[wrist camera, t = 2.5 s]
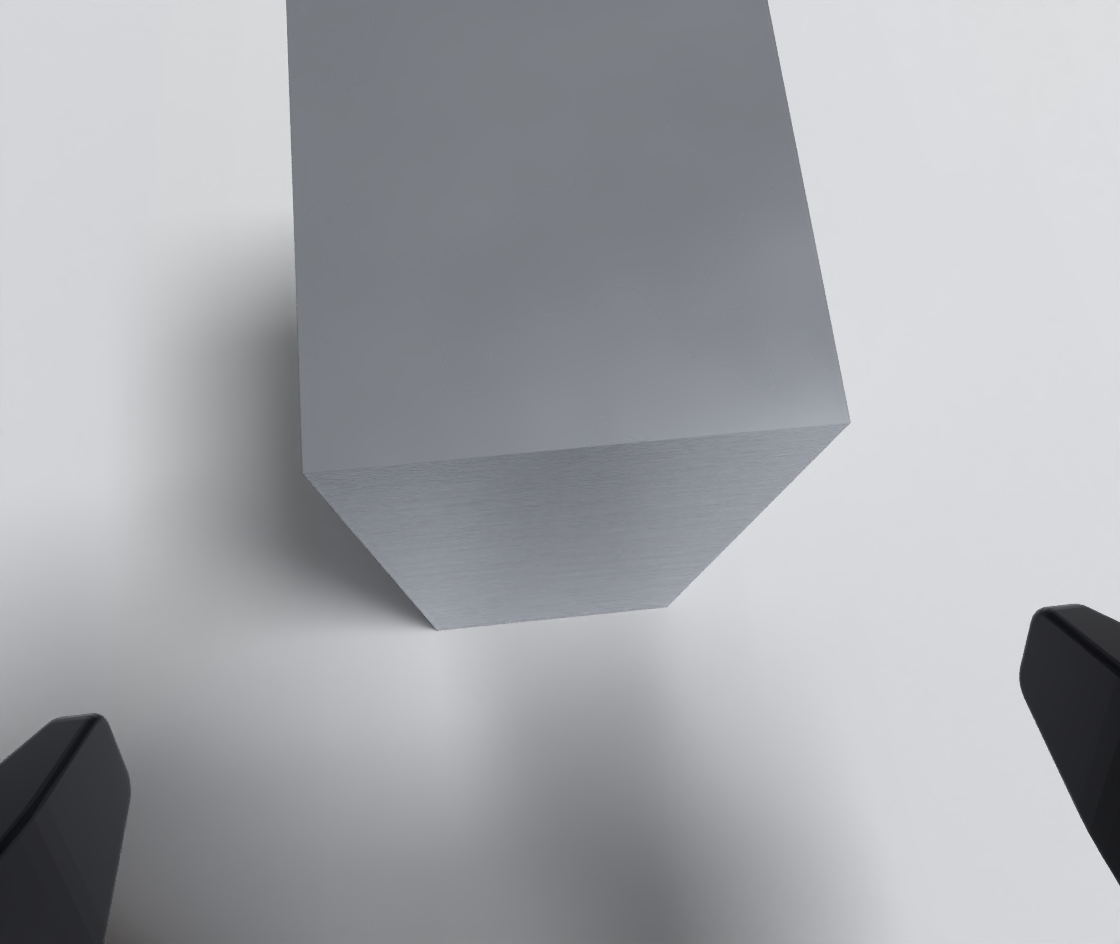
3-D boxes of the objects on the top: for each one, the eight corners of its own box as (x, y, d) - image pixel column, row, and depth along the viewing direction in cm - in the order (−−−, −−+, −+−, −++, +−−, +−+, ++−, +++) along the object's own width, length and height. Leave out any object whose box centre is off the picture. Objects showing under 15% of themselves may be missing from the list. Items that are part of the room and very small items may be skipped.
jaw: (630, 334, 23) (740, -132, 11) (667, 606, 21) (850, 423, 9) (417, 352, 22) (282, -104, 10) (437, 630, 21) (301, 473, 9)
